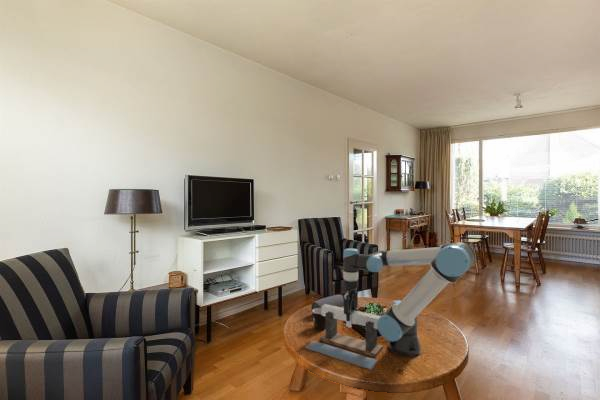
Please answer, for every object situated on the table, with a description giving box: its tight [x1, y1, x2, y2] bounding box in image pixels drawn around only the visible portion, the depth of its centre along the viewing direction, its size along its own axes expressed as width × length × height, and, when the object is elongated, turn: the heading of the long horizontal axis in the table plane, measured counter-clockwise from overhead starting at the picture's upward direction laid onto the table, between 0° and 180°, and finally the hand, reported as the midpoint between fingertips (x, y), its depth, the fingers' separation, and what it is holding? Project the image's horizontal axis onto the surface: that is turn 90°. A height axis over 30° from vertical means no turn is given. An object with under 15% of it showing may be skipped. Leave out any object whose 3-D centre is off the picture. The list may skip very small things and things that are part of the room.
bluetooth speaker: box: [310, 294, 344, 311], centre depth 199 cm, size 23×9×10 cm, turn 130°
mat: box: [304, 340, 378, 371], centre depth 147 cm, size 34×8×1 cm, turn 56°
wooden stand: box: [319, 313, 384, 358], centre depth 157 cm, size 30×10×14 cm, turn 56°
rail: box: [322, 304, 382, 330], centre depth 157 cm, size 32×4×5 cm, turn 56°
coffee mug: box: [311, 308, 326, 332], centre depth 177 cm, size 12×9×10 cm
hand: (350, 325), depth 157 cm, fingers closed on rail, 4 cm apart
